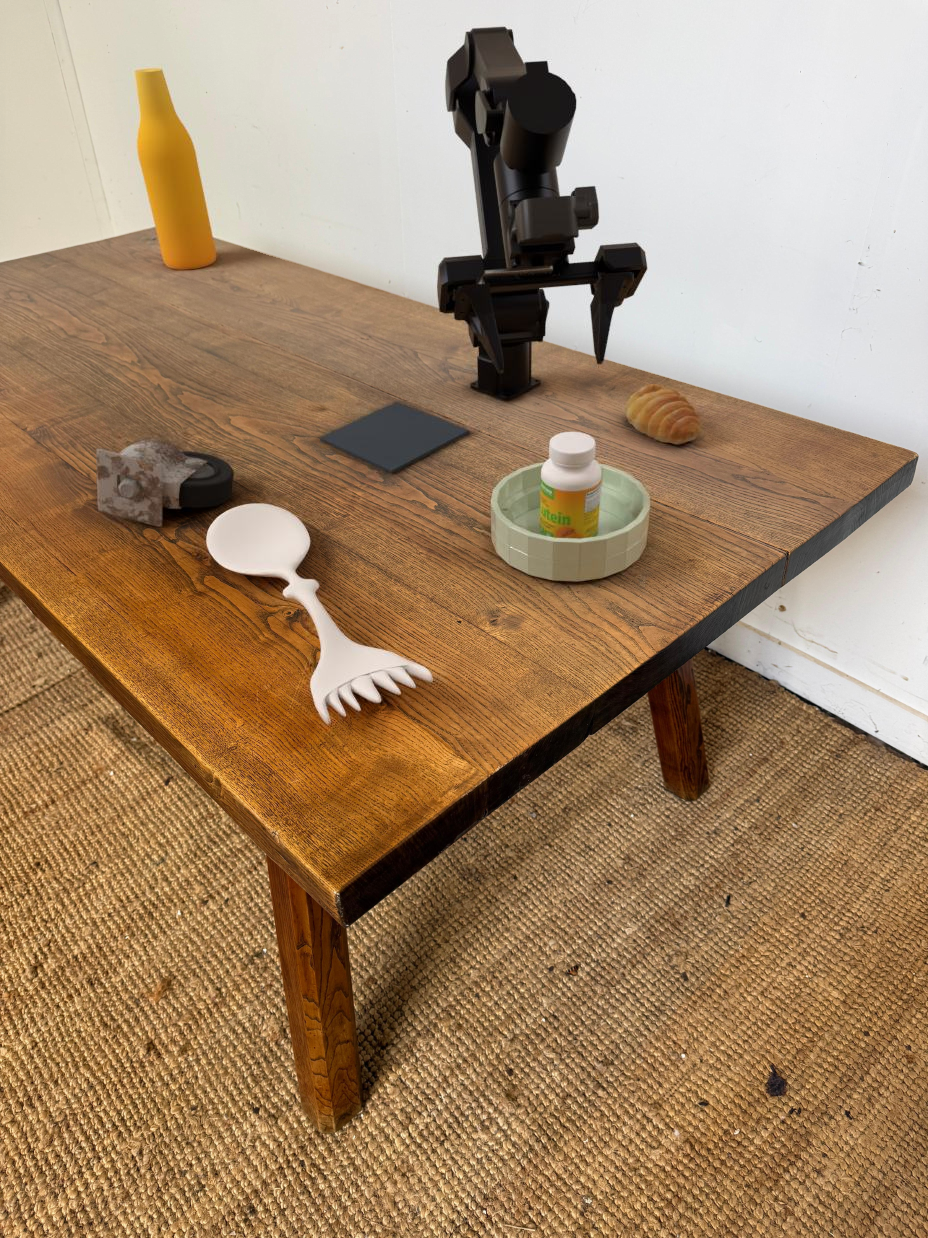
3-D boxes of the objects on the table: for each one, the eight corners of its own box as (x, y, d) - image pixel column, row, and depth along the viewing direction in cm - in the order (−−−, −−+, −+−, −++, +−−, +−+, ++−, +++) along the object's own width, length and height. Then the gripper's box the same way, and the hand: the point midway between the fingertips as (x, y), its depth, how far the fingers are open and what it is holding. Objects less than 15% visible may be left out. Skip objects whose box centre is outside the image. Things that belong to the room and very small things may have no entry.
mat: (396, 404, 107) (396, 401, 106) (469, 433, 100) (469, 429, 100) (320, 440, 100) (319, 437, 100) (392, 473, 93) (391, 470, 93)
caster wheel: (243, 502, 95) (203, 542, 86) (143, 476, 95) (94, 513, 87) (247, 444, 91) (206, 479, 83) (144, 418, 92) (93, 449, 83)
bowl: (556, 485, 90) (557, 445, 87) (675, 534, 82) (680, 492, 79) (461, 544, 82) (459, 503, 79) (582, 605, 74) (585, 561, 72)
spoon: (328, 752, 62) (322, 718, 60) (197, 541, 84) (189, 510, 82) (440, 705, 66) (437, 670, 64) (286, 514, 88) (280, 483, 86)
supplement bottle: (527, 539, 82) (528, 444, 76) (561, 514, 85) (565, 421, 79) (575, 559, 79) (580, 462, 73) (608, 533, 82) (616, 438, 76)
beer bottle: (191, 273, 150) (147, 75, 132) (153, 266, 154) (104, 72, 136) (228, 257, 156) (191, 66, 138) (190, 251, 160) (149, 64, 142)
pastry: (716, 439, 96) (720, 407, 94) (664, 454, 94) (668, 421, 92) (665, 406, 103) (668, 375, 101) (616, 420, 101) (618, 389, 99)
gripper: (432, 158, 73) (454, 337, 71) (651, 142, 74) (677, 318, 73) (429, 231, 84) (448, 388, 82) (620, 217, 85) (642, 371, 84)
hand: (551, 366), depth 80 cm, fingers open, 9 cm apart
